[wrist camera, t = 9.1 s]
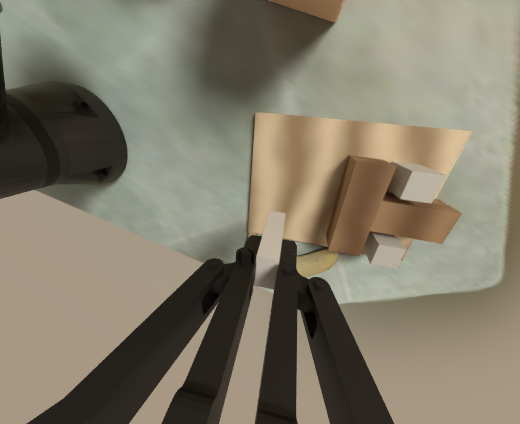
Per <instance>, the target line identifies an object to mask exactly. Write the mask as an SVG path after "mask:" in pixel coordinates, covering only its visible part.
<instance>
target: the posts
mask: <svg viewBox="0 0 520 424" xmlns="http://www.w3.org/2000/svg"><path fill="white" fill-rule="evenodd" d="M391 164H393V165H395V166H397V167H396V169H395V172H394V174H393V176H392V179H391V181H390V184H389V186H388V188H387V189H389V190H390V191H391V192H392V193H393V194H395V195H396V196H397V197H398V198H399V199H403V200H410V201H417V202H424V203H432V201H433V200H434V198H435V196H436V194H437V192H438V190H439V189H440V187H441V185H442V183H443V181H444V179H445V177H446V176H447V175H445V174H442V173H439V172H437V171H434V170H432V169H429V168H427V167H424V166H422V165H418V164H410V163H401V162H393V161H392V163H391ZM363 248H364V250H365V253H366V255H367V257H368V259H369V261H370V264H374V265H379V266H384V267H389V268H394V269H396V268H397V266H398V264H399V263H400V261H401V259H402V257H403V255H404V253H405V251H406V249H405V247H404V246H403V245H402V243H401V242H400V241H399V240H398V238H397V237H396V236H395V235H390V234H384V233H378V232H373V231H370V232H369V234H368V237H367V239H366V242H365V244H364V246H363Z"/></svg>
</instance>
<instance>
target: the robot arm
mask: <svg viewBox="0 0 520 424" xmlns="http://www.w3.org/2000/svg"><path fill="white" fill-rule="evenodd" d="M2 10H3V8H2V5H1V3H0V13H1V12H2ZM126 161H127V148H126V142H125V139H124V135H123V133H122V130H121V128H120V126H119V124H118V122H117V120H116V118H115V117H114V115H113V114H112V112H111V111H110V110H109V108H108V107H107V106H106V105H105V104H104V103H103V102H102V101H101V100H100V99H99V98H98V97H97V96H96V95H94V94H93V93H92V92H90V91H89V90H87V89H85V88H83V87H81V86H78V85H74V84H68V83H61V82H44V83H39V84H34V85H29V86H24V87H19V88H14V89H9V90H5V81H4V72H3V60H2V48H1V36H0V199H1V198H5V197H9V196H12V195H16V194H20V193H23V192H27V191H31V190H34V189H38V188H42V187H46V186H49V185H54V184H101V183H105V182H108V181H111V180H114V179H116V178H117V177H119V176H120V175H121V174H122V172H123V170H124V168H125V166H126ZM285 215H286V213H282V212H276V211H270V212H269V216H268V219H267V222H266V226H265V229H264V232H263V236H256V235H251V236H250V237H249V238H248V239H247V242H246V244H245V247H244V248H240V249H238V250H237V252H236V262H234V263H229V264H224V263H223V261H221V260H220V259H216V258H215V259H210V260H207V261H206V262H205V263H204V264H203V265H202V266H201V267H200V268H199V269H198V270H197V271H195V272H194V274H192V276H190V277H189V279H187V280H186V281H185V282H184V283H183V284H182V285H181V286H180V287H179V288H178V289H177V290H176V291H175V292H174V293H173V294H172V295H171V296H170V297H168V298H167V299H166V300H165V301H164V302H163V303H162V304H161V305H160V306H159V307H158V308H157V309H156V310H155V311H154V312H153V313H152V314H151V315H150V316H149V317H148V318H147V319H146V320H145V321H144V322H143V323H141V324H140V326H138V327H137V328H136V329H135V330H134V331H133V332H132V333H131V334H130V335H129V336H128V337H127V338H126V339H125V340H124V341H123V342H122V343H121V344H120V345H119V346H118V347H117V348H116V349H114V350H113V352H112V353H110V354H109V355H108V356H107V357H106V358H105V359H104V360H103V361H102V362H101V363H100V364H99V365H98V366H97V367H96V368H95V369H94V370H93V371H92V372H91V373H90V374H89V375H88V376H87V377H86V378H84V379H83V380H82V381H81V382H80V383H79V384H78V385H77V386H76V387H75V388H74V389H73V390H72V391H71V392H70V393H69V394H68V395H67V396H66V397H65V398H64V399H62V400H61V401H59V402H58V403H57V404H55V405H54V406H52V407H50V408H49V409H48V410H46V411H45V412H43V413H42V414H40V415H39V416H37V417H36V418H34V419H33V420H32V421H30V422H29V423H27V424H129V423H130V421H131V420H132V419H133V417H134V416H135V415H136V413H137V412H138V410H139V409H140V408H141V406H142V405H143V404H144V402H145V401H146V400H147V398H148V397H149V395H150V394H151V393H152V392H153V390H154V389H155V387H156V386H157V385H158V383H159V382H160V381H161V379H162V378H163V377H164V375H165V374H166V373H167V371H168V370H169V368H170V367H171V366H172V364H173V363H174V362H175V360H176V359H177V358H178V356H179V355H180V353H181V352H182V351H183V349H184V348H185V347H186V345H187V344H188V343H189V341H190V340H191V339H192V337H193V336H194V335H195V333H196V332H197V331H198V329H199V328H200V326H201V325H202V324H203V322H204V321H205V320H206V318H207V317H208V316H209V314H210V313H211V312H212V310H213V309H214V308H215V306H216V305H217V303H218V302H219V303H218V305H217V307H216V310H215V312H214V315H213V317H212V319H211V322H210V324H209V326H208V329H207V331H206V333H205V336H204V338H203V340H202V343H201V345H200V347H199V350H198V352H197V354H196V357H195V359H194V361H193V364H192V366H191V369H190V371H189V373H188V376H187V378H186V380H185V382H184V384H183V386H182V387H181V388H180V389H179V390H178V391H177V392H176V394H175V395H174V397H173V399H172V402H171V403H170V406H169V408H168V410H167V412H166V415H165V417H164V419H163V422H162V424H219V421H220V417H221V413H222V409H223V405H224V401H225V397H226V393H227V390H228V386H229V381H230V378H231V374H232V370H233V366H234V362H235V359H236V355H237V351H238V347H239V343H240V339H241V335H242V331H243V327H244V324H245V319H246V316H247V312H248V308H249V304H250V300H251V296H252V292H253V285H255V286H260V287H265V288H270V289H274V295H273V301H272V308H271V315H270V322H269V330H268V336H267V343H266V350H265V357H264V364H263V371H262V378H261V385H260V391H259V399H258V405H257V412H256V419H255V424H298V423H297V419H296V370H297V368H296V367H297V365H296V364H297V309H298V310H300V311H301V315H302V318H303V322H304V326H305V330H306V333H307V338H308V341H309V345H310V349H311V353H312V356H313V360H314V364H315V367H316V371H317V376H318V379H319V383H320V387H321V391H322V395H323V398H324V402H325V406H326V410H327V413H328V418H329V421H330V424H394V422H393V420H392V418H391V416H390V414H389V412H388V410H387V407H386V405H385V403H384V401H383V399H382V397H381V395H380V393H379V391H378V388H377V386H376V384H375V382H374V380H373V377H372V375H371V373H370V371H369V369H368V367H367V365H366V362H365V360H364V358H363V356H362V354H361V352H360V350H359V348H358V345H357V343H356V341H355V339H354V337H353V335H352V332H351V330H350V328H349V326H348V324H347V322H346V320H345V317H344V315H343V313H342V311H341V309H340V307H339V305H338V302H337V300H336V298H335V296H334V294H333V292H332V290H331V287H330V285H329V284H328V282H326V281H325V280H324V279H322V278H319V277H312V278H311V279H307V278H305V277H303V276H302V275H300V274H299V273H298V271H297V268H296V263H297V245H296V244H295V242H294V241H289V240H283V239H282V238H283V230H284V223H285Z"/></svg>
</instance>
